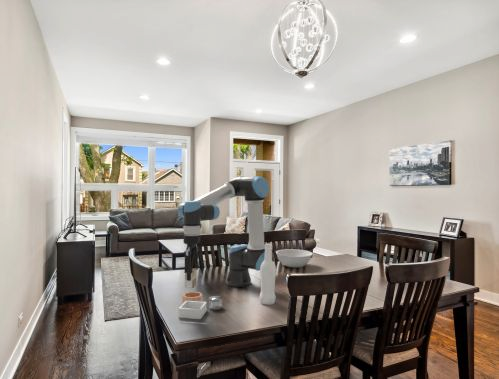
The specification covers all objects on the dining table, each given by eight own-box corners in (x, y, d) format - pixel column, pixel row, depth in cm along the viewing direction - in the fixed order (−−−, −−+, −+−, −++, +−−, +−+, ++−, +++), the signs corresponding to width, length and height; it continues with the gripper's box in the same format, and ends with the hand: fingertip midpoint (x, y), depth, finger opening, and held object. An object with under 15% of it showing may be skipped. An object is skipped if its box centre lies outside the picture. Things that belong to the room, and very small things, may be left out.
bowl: (272, 262, 262) (272, 249, 262) (306, 261, 265) (306, 249, 265) (279, 271, 235) (279, 256, 234) (317, 270, 238) (317, 256, 237)
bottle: (258, 299, 175) (259, 242, 174) (274, 299, 175) (275, 242, 175) (260, 305, 167) (261, 245, 166) (276, 305, 167) (277, 245, 167)
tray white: (206, 312, 157) (206, 301, 157) (200, 321, 147) (200, 309, 147) (185, 311, 158) (185, 300, 158) (178, 319, 148) (178, 308, 148)
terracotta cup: (203, 303, 169) (203, 292, 169) (198, 309, 160) (198, 298, 160) (186, 302, 170) (186, 291, 170) (180, 308, 161) (180, 297, 161)
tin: (223, 306, 164) (223, 296, 164) (220, 311, 158) (220, 300, 158) (210, 306, 165) (210, 295, 165) (207, 310, 159) (207, 299, 159)
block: (196, 285, 156) (196, 268, 156) (193, 288, 152) (193, 270, 152) (187, 284, 156) (188, 267, 156) (184, 287, 152) (185, 269, 152)
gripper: (190, 231, 163) (189, 280, 163) (177, 237, 146) (176, 290, 146) (205, 232, 162) (204, 281, 162) (194, 237, 145) (192, 291, 145)
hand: (190, 285), depth 154 cm, fingers closed on block, 4 cm apart
